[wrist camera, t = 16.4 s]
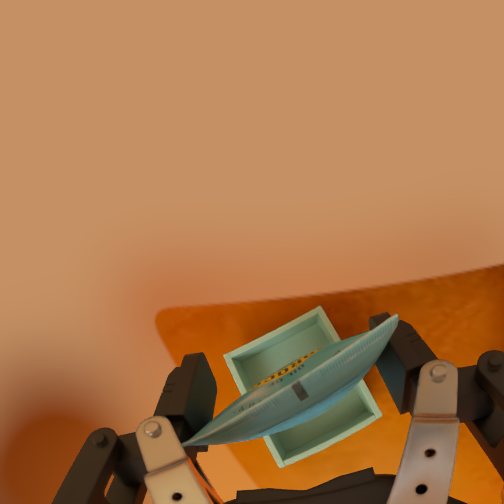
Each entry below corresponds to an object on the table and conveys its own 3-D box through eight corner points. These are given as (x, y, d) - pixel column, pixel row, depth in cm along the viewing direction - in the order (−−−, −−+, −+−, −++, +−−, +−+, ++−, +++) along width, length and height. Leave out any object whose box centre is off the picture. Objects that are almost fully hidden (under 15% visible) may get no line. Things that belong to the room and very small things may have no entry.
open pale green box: (318, 321, 33) (320, 304, 27) (368, 410, 27) (383, 415, 21) (239, 362, 32) (222, 354, 26) (285, 452, 26) (279, 468, 20)
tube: (319, 346, 26) (344, 253, 9) (351, 385, 23) (445, 368, 7) (254, 394, 25) (148, 394, 8) (285, 434, 22) (237, 520, 6)
